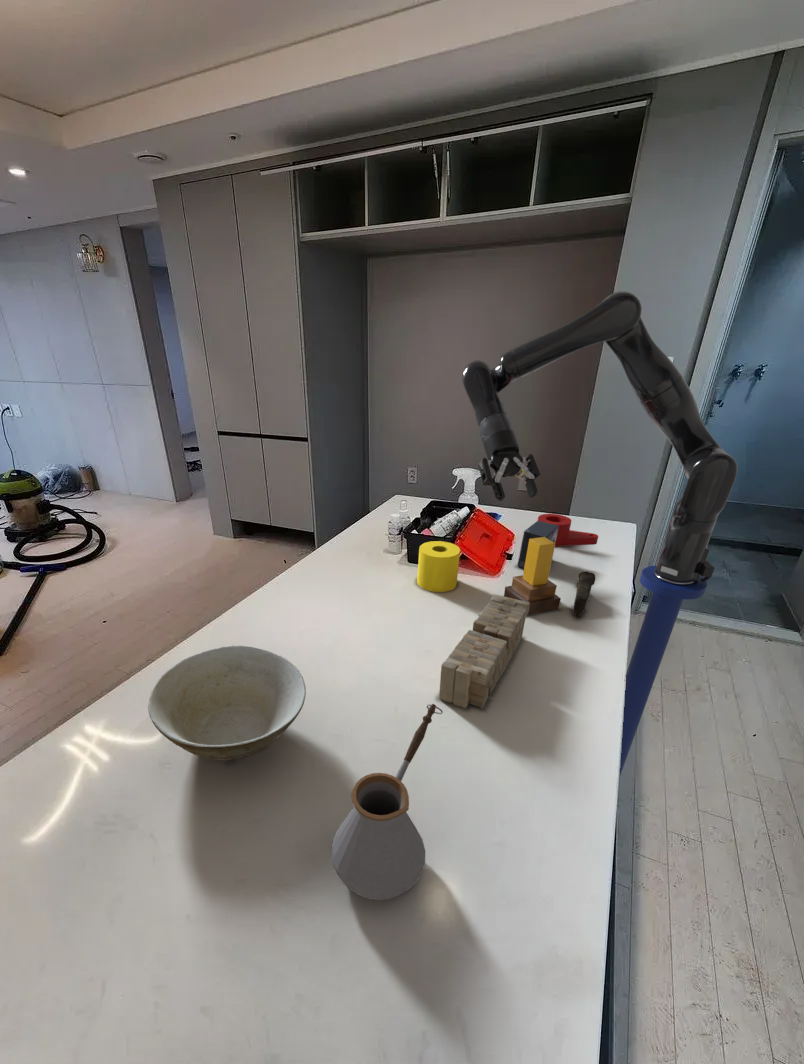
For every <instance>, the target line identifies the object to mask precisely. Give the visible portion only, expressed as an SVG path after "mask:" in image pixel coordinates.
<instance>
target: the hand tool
mask: <svg viewBox="0 0 804 1064" xmlns="http://www.w3.org/2000/svg"><path fill="white" fill-rule="evenodd" d="M595 582H596V574H595V573H593V572H591V571H588V570H585V571H580V572H579V573H578V575H577V583H576V587H577V588H576V594H575V598H574V603H573V613H574V616H575V618H576V619H578V618H580V617H582V614H584V612H585V610H586V607H587V604H588V601H589V597H590V594H591V590H592V587H593V586H594V585H595Z"/></svg>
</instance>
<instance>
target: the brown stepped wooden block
mask: <svg viewBox="0 0 804 1064" xmlns="http://www.w3.org/2000/svg"><path fill="white" fill-rule="evenodd" d="M556 592H557V584H555V583H554V582H553V581H551V580H549V579H548V582H547V583H546V584H540V585H534V586H532V585H531V584H529V583H528V582H527V581H525V580H524V579H523V574H521V575H516V576H512V582H511V585H508V586H505V587H504V592H503V596H504V597H508V598H512V599H516V600H521V601H525V602H529V603H530V606H529V612H528V614H527V615H526V616H529V615H536V614H541V613H546V612H552V611H558V610H559V608H560V605H561V600H562V599H561V597H560V596H558V595H557V594H556Z"/></svg>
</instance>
